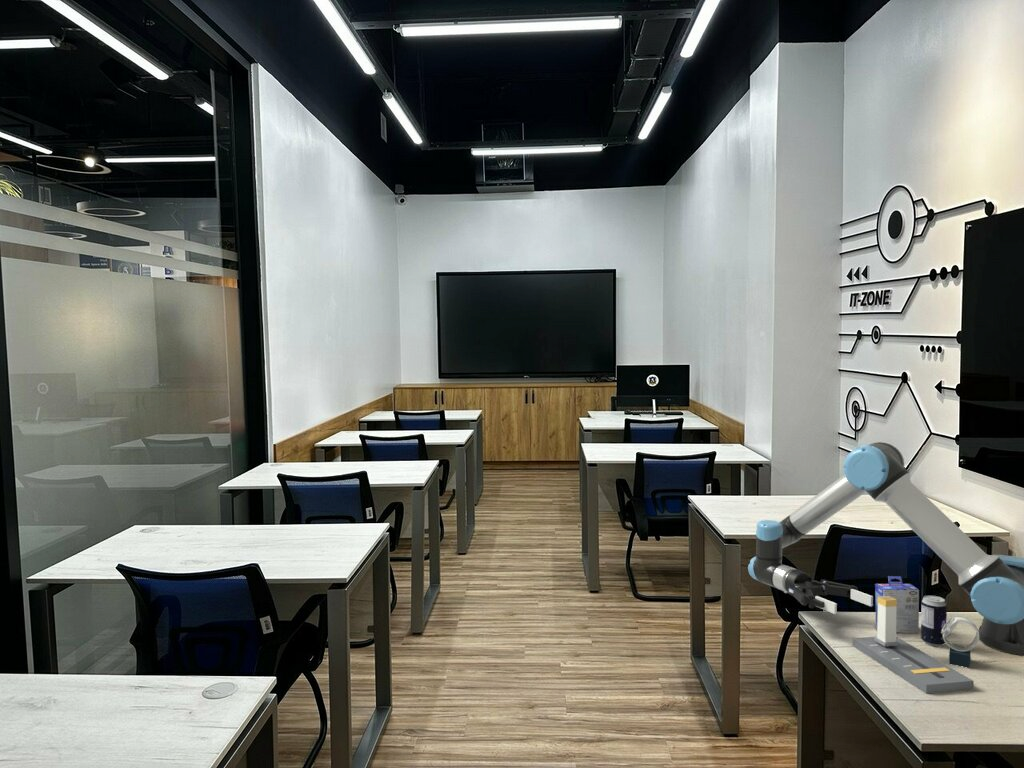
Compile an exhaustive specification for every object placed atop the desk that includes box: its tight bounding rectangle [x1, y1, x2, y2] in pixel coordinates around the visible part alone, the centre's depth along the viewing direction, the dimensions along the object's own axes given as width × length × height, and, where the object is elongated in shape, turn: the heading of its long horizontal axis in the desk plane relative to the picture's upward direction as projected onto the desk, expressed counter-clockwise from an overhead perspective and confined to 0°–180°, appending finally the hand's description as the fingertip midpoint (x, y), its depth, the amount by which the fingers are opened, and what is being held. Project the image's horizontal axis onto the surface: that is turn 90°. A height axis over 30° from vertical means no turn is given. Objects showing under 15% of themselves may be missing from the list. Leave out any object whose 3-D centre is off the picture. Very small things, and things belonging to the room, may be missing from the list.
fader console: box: [852, 636, 975, 694], centre depth 169 cm, size 12×26×2 cm, turn 9°
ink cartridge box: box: [874, 575, 920, 634], centre depth 192 cm, size 10×6×14 cm, turn 87°
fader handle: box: [873, 596, 899, 646], centre depth 177 cm, size 4×4×12 cm
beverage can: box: [920, 594, 948, 648], centre depth 182 cm, size 6×6×12 cm
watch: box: [941, 616, 980, 669], centre depth 171 cm, size 6×8×11 cm
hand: (854, 605), depth 186 cm, fingers open, 13 cm apart
